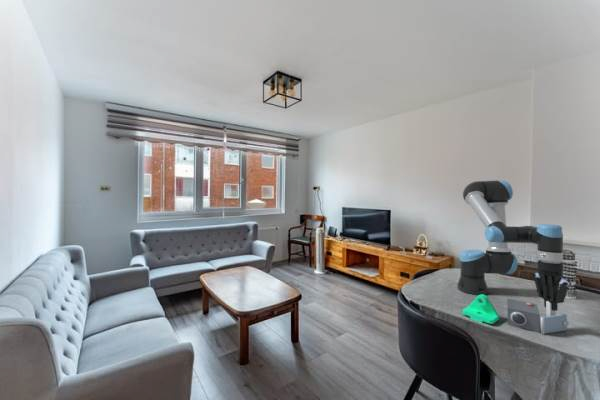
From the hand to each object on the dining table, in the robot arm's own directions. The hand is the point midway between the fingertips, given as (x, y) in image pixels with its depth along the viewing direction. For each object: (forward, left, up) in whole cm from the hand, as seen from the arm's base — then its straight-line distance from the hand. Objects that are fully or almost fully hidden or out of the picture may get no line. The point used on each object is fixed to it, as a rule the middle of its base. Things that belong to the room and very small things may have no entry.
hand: (550, 316), depth 104 cm
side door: (0, -4, -4) cm, 6 cm away
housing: (-9, -2, -5) cm, 10 cm away
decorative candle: (+10, +49, -5) cm, 50 cm away
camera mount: (-24, -8, -5) cm, 26 cm away
